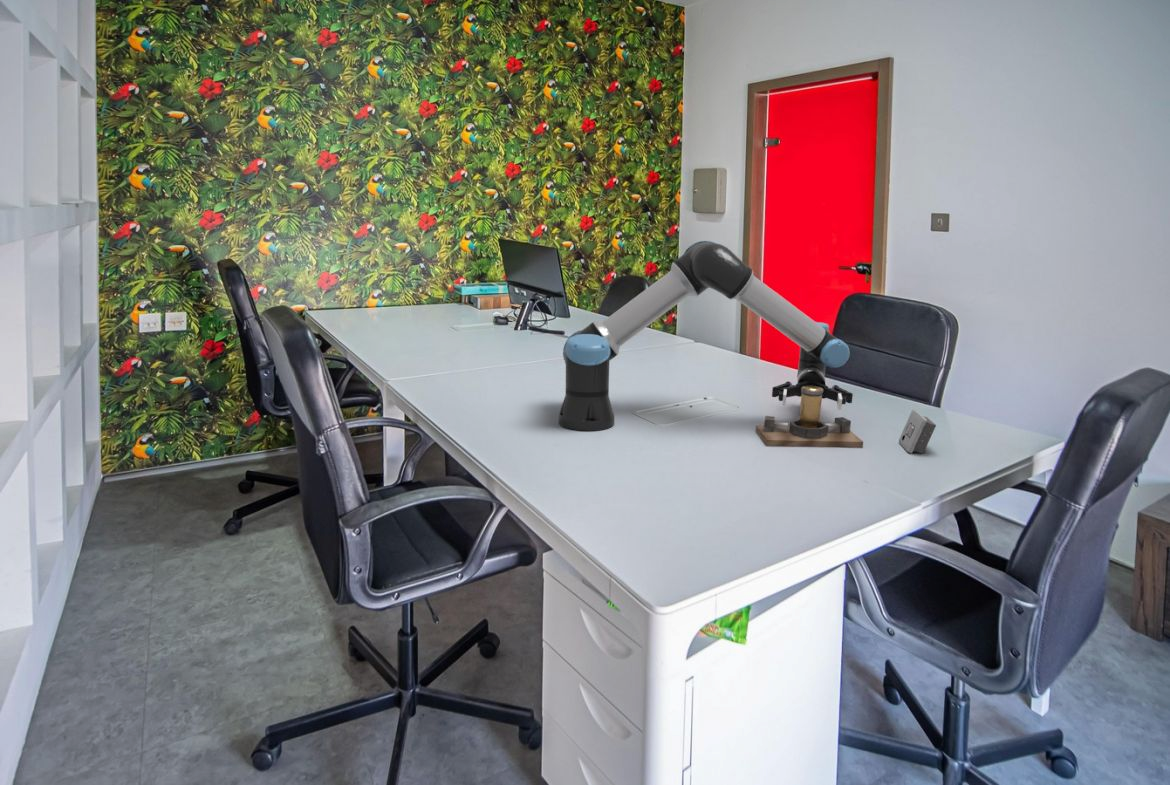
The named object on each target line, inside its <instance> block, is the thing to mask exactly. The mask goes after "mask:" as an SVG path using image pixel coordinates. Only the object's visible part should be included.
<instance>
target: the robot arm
mask: <svg viewBox="0 0 1170 785" xmlns="http://www.w3.org/2000/svg"><path fill="white" fill-rule="evenodd" d="M708 289H712V290H715V291H716V292H717V293H720V294H722V295H723V296H725V298H728V299H729V300H737V301H738V302H739V303H741V304H742V305H743V306H745V307H746V308H747V309H749V310H750V311H752V312H753V313H754V314H756V315H757V316H759V317H760V318H761V319H763V320H764V321H765V322H766V323H768V324H769V325H771V326H772V327H774V328H775V329H776V330H778V331H779V332H780V333H782V334H783V335H784V336H786V338H788V339H789V340H791V341H792V342H794V344H796V345H798V346H799V358H798V359H799V360H798V366H797V367H798V368H797V376H796V377H797V378H796V379H797V383H796V384H793V383H792V382H791V381H786V382H785V383H781V384H778V385H775V386H773V387H772V392H771V397H772V398H777V397H778V401H779V402H782V406H787V405H786V403H787V398H790V397H799V398H801V396H802V393H801V388H802V387H803V386H817V387H821V388H823V395H822V400H823V399H828V400H831V401H834V402H836V403H837V409H838V410H842V406H843V405H846V403H848V404H852V403H853V394H854V393H852V392H850V391H848V390H846V389H844V388H842V387H840V386H839V385H837V384H834V385H832V386H831V387H829V386H828V385H826V379H825V377H826V367H830V368H833V369H835V368H840V367H842V366H844V365H846V363H847V361H848V360H849V358H850V355H851V352H850V348H849V346H848V344H847V343H846V342H844V340H842V339H840V338H837V337H836V336H835V335H833V334H832V333H830V326H829V324H828V323H825V322H817V321H815V320H814V319H812V318H811V317H810V316H808V315H806V313H804V312H803V311H801V310H800V309H798V308H797V307H796V306H795V305H793V304H792V303H791V302H790V301H788V300H787V299H785V298H784V297H783V296H782V295H780V294H779V293H778V292H777V291H775V290H773V289H772V288H770V287H769V286H768V285H767V284H765V283H764V282H763V281H762V280H760V279H759V278H757V276H755V275H754V270H753V269H752V268H751V267H750V266H748V265H747V264H746V263H744V262H743V261H742V260H741V259H740V258H739V257H738V255H736V254H735V253H734V252H733V251H732V250H731V249H729V248H728V247H727V246H725V245H723V244H719V243H717V242H714V241H711V240H702V241H696V242H695V243H692V244H691V245H690V246H688V248H686V249H685V251H684V252H683V254H682V255H681V256H679V257H678V258H677V259H676V260H673V262H672V263H671V267H670V271H668V272H667V273H666V274H664V275H663V276H662V277H661V278H659V279H658V280H657V281H655V282H654V283H652V284H651V285H650V286H648V287H647V288H645V289H644V290H643V291H641V292H640V293H639V294H637V295H636V296H635V297H634V298H632V299H631V300H630V301H628V302H627V303H626V304H624V305H623V306H622V307H620V308H619V309H618V310H616V311H615V312H613V313H612V314H611V315H609V316H608V317H606V319H604V320H603V321H601V322H599V321H592V322H591V323H590V324H588V325H587V326H585V327H584V328H583V329H581V330H577V331H575V332H573V333H572V334H571V335H569V337H568V338H566V341H565V343H564V345H563V348H562V356H563V360H564V363H565V396H564V398H563V402H562V404H561V407H560V410H559V413H558V424H559V425H560V426H561V427H562V428H563V427H564V428H565V429H569V430H574V431H588V432H589V431H600V430H601V431H602V430H606V429H610V428H612V427H613V426H614V425H615V413H614V410H613V407H612V403H611V399H610V392H609V390H610V361H612V360H613V359H615V357H617V356H619V351H620V347H622V346H623V345H624V344H626V343H627V342H628V341H630V340H631V339H632V338H634V336H636V335H638V333H640V332H642V331H643V330H644V329H646V328H647V327H649V326H650V325H651V324H652V323H653V322H655V321H656V320H658V319H659V318H660V317H662V316H664V315H665V314H666V313H668V311H670V310H671V309H672V308H674V307H675V306H677V305H679V303H681V302H682V301H683V300H685V299H686V298H688V297H690V296H691V297H698V296H700V295H701V294H703V292H705V291H706V290H708ZM838 410H837V411H838Z"/></svg>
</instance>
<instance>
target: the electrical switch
mask: <svg viewBox="0 0 1170 785" xmlns="http://www.w3.org/2000/svg"><path fill="white" fill-rule="evenodd" d="M936 427H937V425H936V424H935V423H934V422H933V421H932V420H931V419H930V418H929V417H928V416H924V415H923V414H921V413H920V412H919V411H918V410H916V409H912V410H911V412H910V414H909V416H908V419H907V421H906V423H905V425H904V428H903V429H902V432H901V434H900V437H899V439H898V443H899V445H900V446H901V447H902V448H903V449H904V450H905V451H906V452H907V453H909V454H913V452H915V453H920V454H924V452H925V451H926V449H927V447H928V444H929V442H930V440H931V438H932V435H933V434H934V431H935V430H936V429H935V428H936Z"/></svg>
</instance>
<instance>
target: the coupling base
mask: <svg viewBox="0 0 1170 785" xmlns="http://www.w3.org/2000/svg"><path fill="white" fill-rule="evenodd" d="M764 417H765V418H764V421H763V425H759V424H758V425H755V432H756V433H757V435H758V436H759V437H760V438H761V440H762V442H763V443H764V444H765V446H766V447H801V448H802V447H803V448H804V447H805V448H807V447H809V448H811V447H815V448H816V447H817V448H861V449H862V448H863V447H864V440H862V439H861V438H860V437H858V436H857V435H856V434H855V433H854V431H852V430H851V422H852V420H850V419H847V418H845V417H843V416H841V417H834V422H833V423H831V422H829V423H825V422H824V421H820V422H819V428H805V427H801V426H799V418H797V419H794V420H792V421H790V422H789V423H788V422H779V421H778V422H777V421H776V420H775V418H776V417H775V416H774V415H773V416H771V415H765V416H764ZM788 424H789V425H788Z"/></svg>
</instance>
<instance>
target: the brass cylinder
mask: <svg viewBox="0 0 1170 785" xmlns="http://www.w3.org/2000/svg"><path fill="white" fill-rule="evenodd" d="M801 393H802V396H801V397H800V398H801V399H800V410H799V418H798V419H799V426H801V427H805V428H819V422H821V421H820V420H821V409H822V401H823V399H822V395H823V388H821V387H817V386H803V387H802V388H801Z"/></svg>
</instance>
